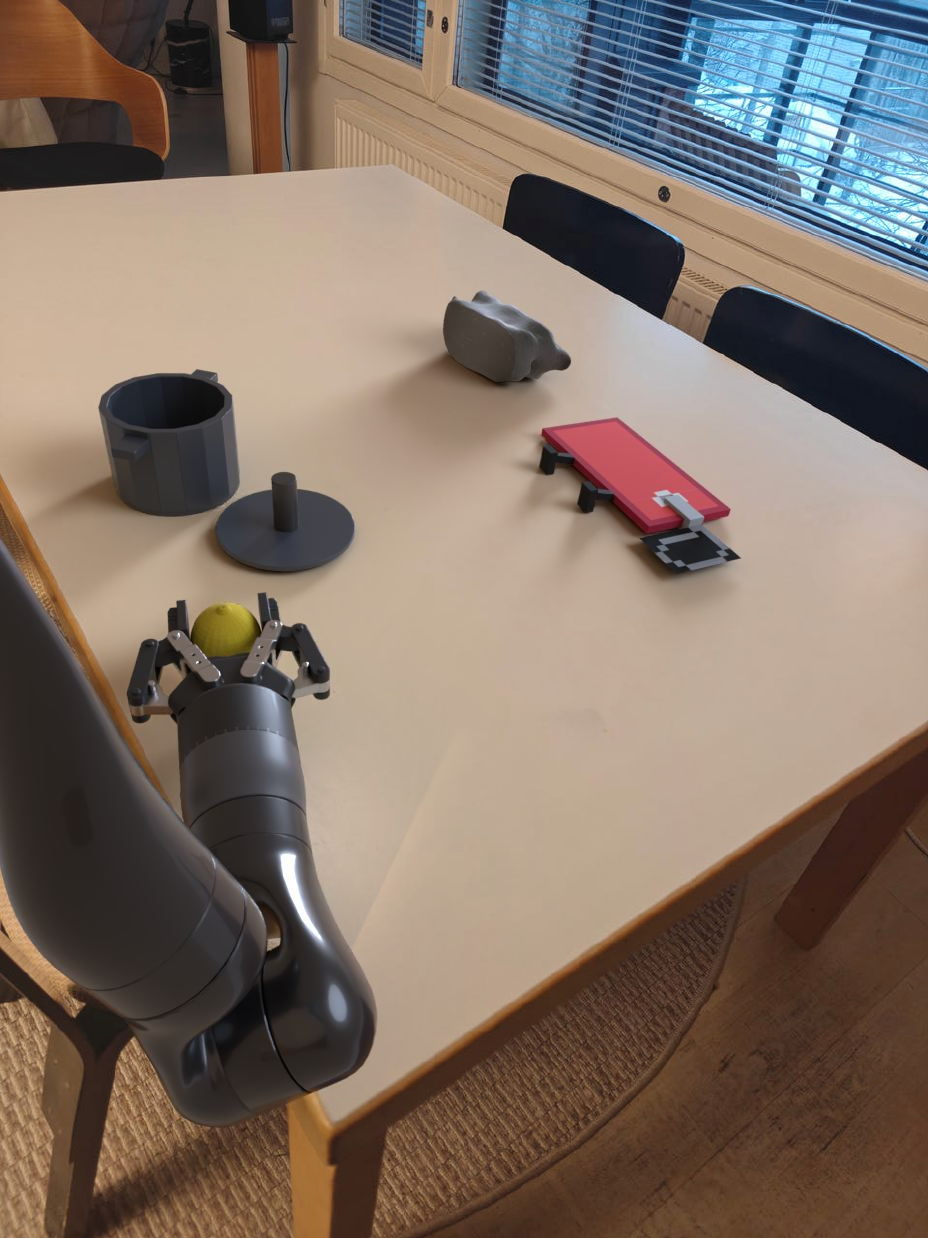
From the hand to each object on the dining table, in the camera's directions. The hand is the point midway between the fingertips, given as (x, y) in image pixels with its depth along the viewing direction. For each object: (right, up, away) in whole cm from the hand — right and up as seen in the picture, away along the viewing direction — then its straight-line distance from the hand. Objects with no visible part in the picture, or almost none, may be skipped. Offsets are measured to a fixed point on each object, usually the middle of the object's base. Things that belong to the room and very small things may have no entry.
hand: (222, 605), depth 67 cm
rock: (+24, +35, +55) cm, 70 cm away
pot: (-12, +13, +25) cm, 31 cm away
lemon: (0, -6, +2) cm, 7 cm away
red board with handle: (+38, +13, +32) cm, 51 cm away
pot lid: (+1, +8, +19) cm, 21 cm away
